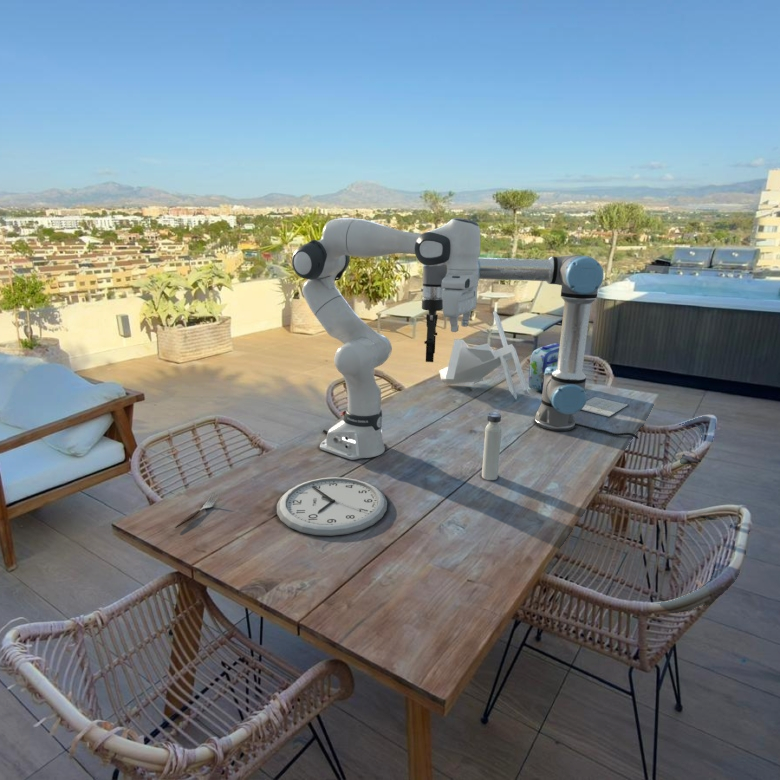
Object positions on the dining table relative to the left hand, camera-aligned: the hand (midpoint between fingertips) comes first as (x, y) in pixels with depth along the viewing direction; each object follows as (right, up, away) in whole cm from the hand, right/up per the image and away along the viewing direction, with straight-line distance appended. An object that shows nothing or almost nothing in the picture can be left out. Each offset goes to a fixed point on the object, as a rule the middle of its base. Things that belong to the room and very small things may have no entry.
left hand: (459, 328), depth 149 cm
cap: (+11, -25, +6) cm, 28 cm away
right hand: (-5, -6, +40) cm, 41 cm away
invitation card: (+72, -25, +77) cm, 108 cm away
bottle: (+11, -44, +12) cm, 47 cm away
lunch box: (+57, -16, +103) cm, 118 cm away
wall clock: (-36, -49, -6) cm, 61 cm away
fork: (-71, -50, -12) cm, 87 cm away
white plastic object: (+22, -19, +94) cm, 98 cm away
